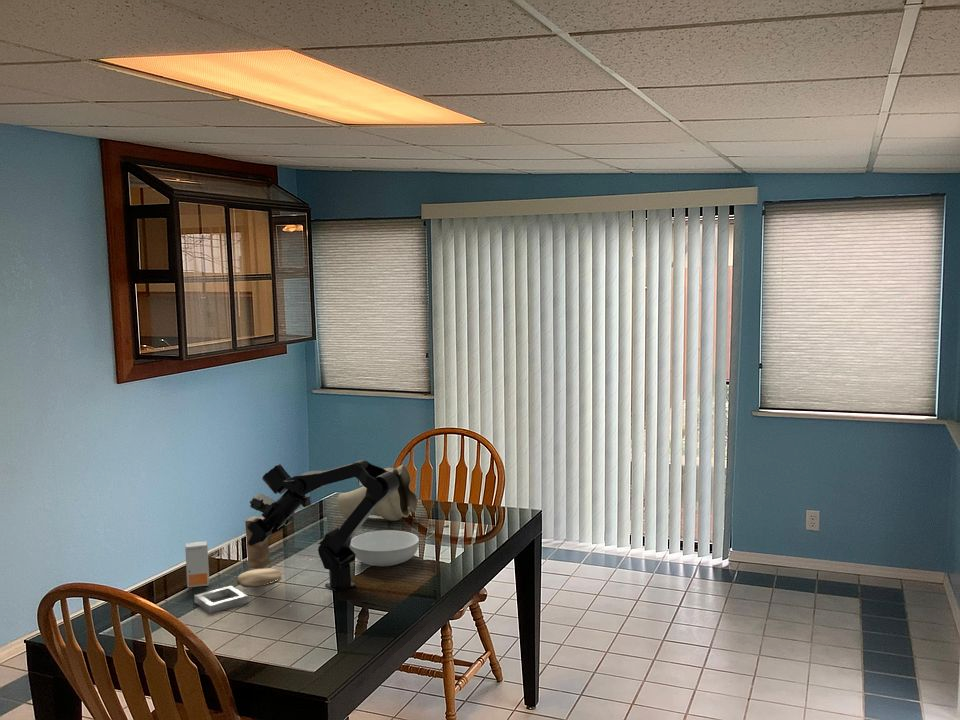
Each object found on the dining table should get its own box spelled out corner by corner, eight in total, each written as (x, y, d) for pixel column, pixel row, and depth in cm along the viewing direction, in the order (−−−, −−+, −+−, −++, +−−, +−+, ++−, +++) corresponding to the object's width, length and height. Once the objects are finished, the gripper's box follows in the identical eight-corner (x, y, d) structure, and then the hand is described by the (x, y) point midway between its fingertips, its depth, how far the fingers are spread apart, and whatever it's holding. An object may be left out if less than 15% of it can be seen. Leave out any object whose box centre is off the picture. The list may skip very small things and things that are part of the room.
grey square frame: (247, 602, 241) (247, 595, 240) (210, 613, 234) (209, 605, 234) (231, 592, 249) (231, 585, 249) (194, 602, 242) (194, 595, 242)
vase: (310, 488, 307) (389, 470, 300) (333, 463, 329) (407, 445, 321) (332, 548, 312) (411, 531, 304) (354, 519, 334) (427, 503, 326)
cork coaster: (288, 578, 258) (287, 575, 258) (249, 589, 251) (249, 585, 251) (269, 568, 268) (269, 565, 267) (231, 578, 260) (231, 575, 260)
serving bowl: (409, 575, 259) (408, 552, 258) (340, 572, 263) (339, 549, 262) (427, 552, 279) (426, 530, 279) (363, 549, 283) (362, 528, 283)
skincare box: (187, 588, 253) (184, 547, 252) (187, 583, 257) (185, 542, 256) (209, 585, 255) (207, 544, 253) (209, 580, 259) (207, 540, 257)
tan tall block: (269, 563, 260) (266, 516, 259) (262, 568, 256) (259, 521, 255) (255, 562, 261) (252, 516, 260) (248, 568, 257) (245, 520, 256)
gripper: (281, 477, 264) (249, 513, 268) (251, 493, 246) (217, 531, 250) (307, 504, 263) (274, 539, 267) (279, 522, 245) (245, 560, 249)
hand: (253, 541), depth 258 cm, fingers closed on tan tall block, 4 cm apart
